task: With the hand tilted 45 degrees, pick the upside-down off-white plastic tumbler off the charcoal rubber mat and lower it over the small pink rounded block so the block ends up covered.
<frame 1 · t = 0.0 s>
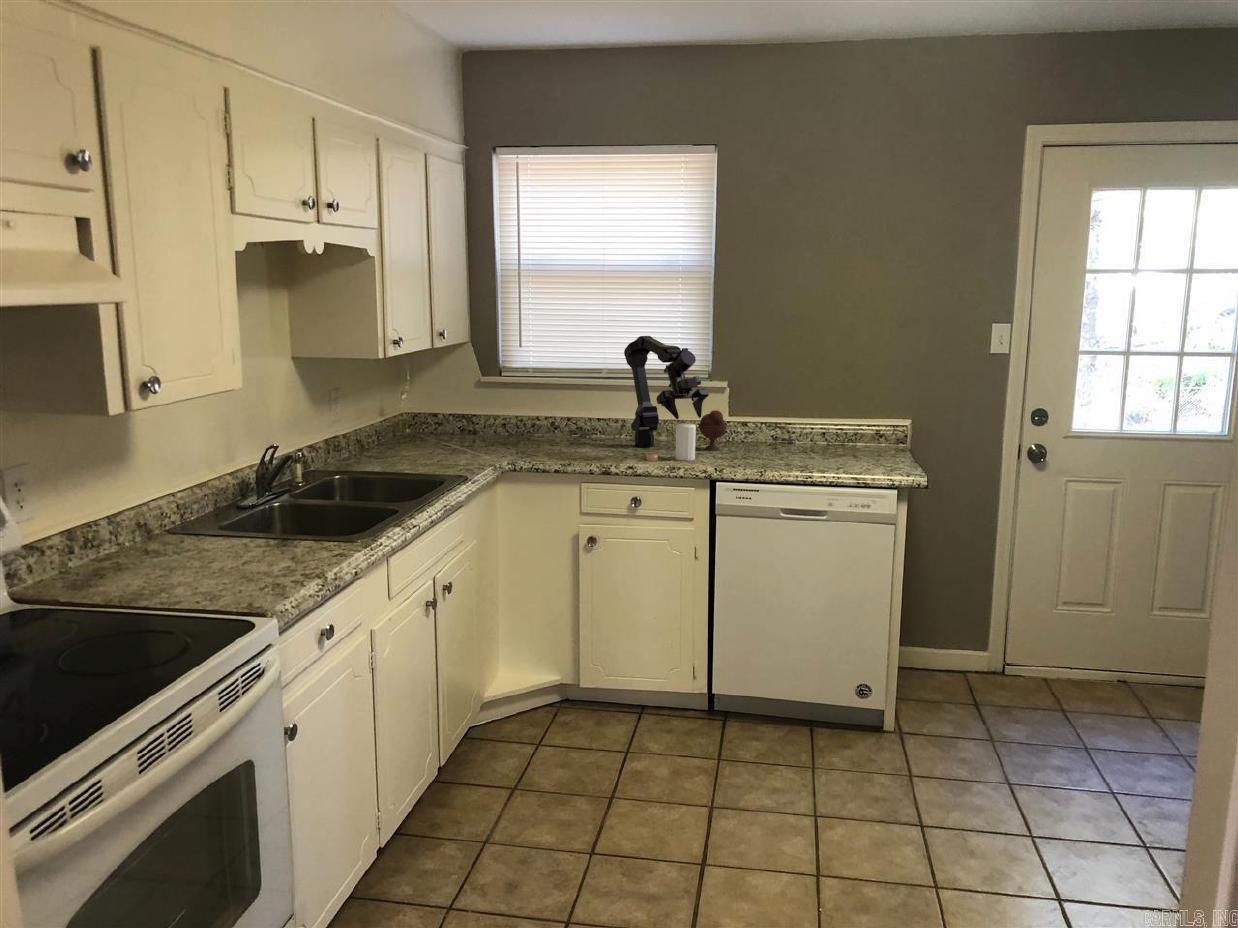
hand: (689, 418, 328), 15 cm above the worktop, tool tilted 35°, fingers open, 9 cm apart
ice cream bowl: (712, 450, 353), on the worktop
tumbler: (685, 458, 331), resting on mat
mat: (682, 459, 332), on the worktop
pink rounded block: (652, 461, 328), on the worktop
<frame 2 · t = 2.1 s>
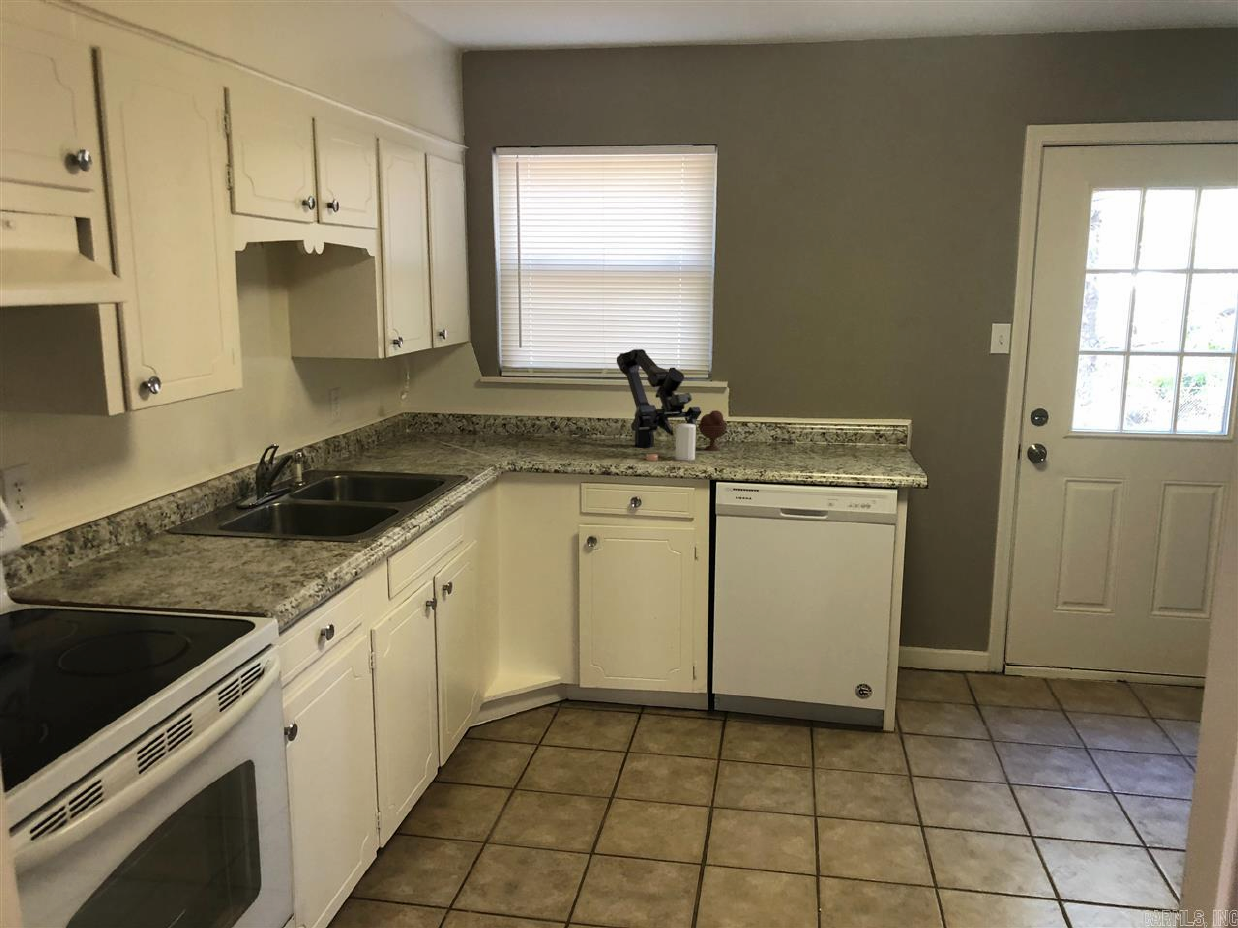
hand: (683, 434, 331), 9 cm above the worktop, tool tilted 45°, fingers open, 9 cm apart
nothing on the worktop moved.
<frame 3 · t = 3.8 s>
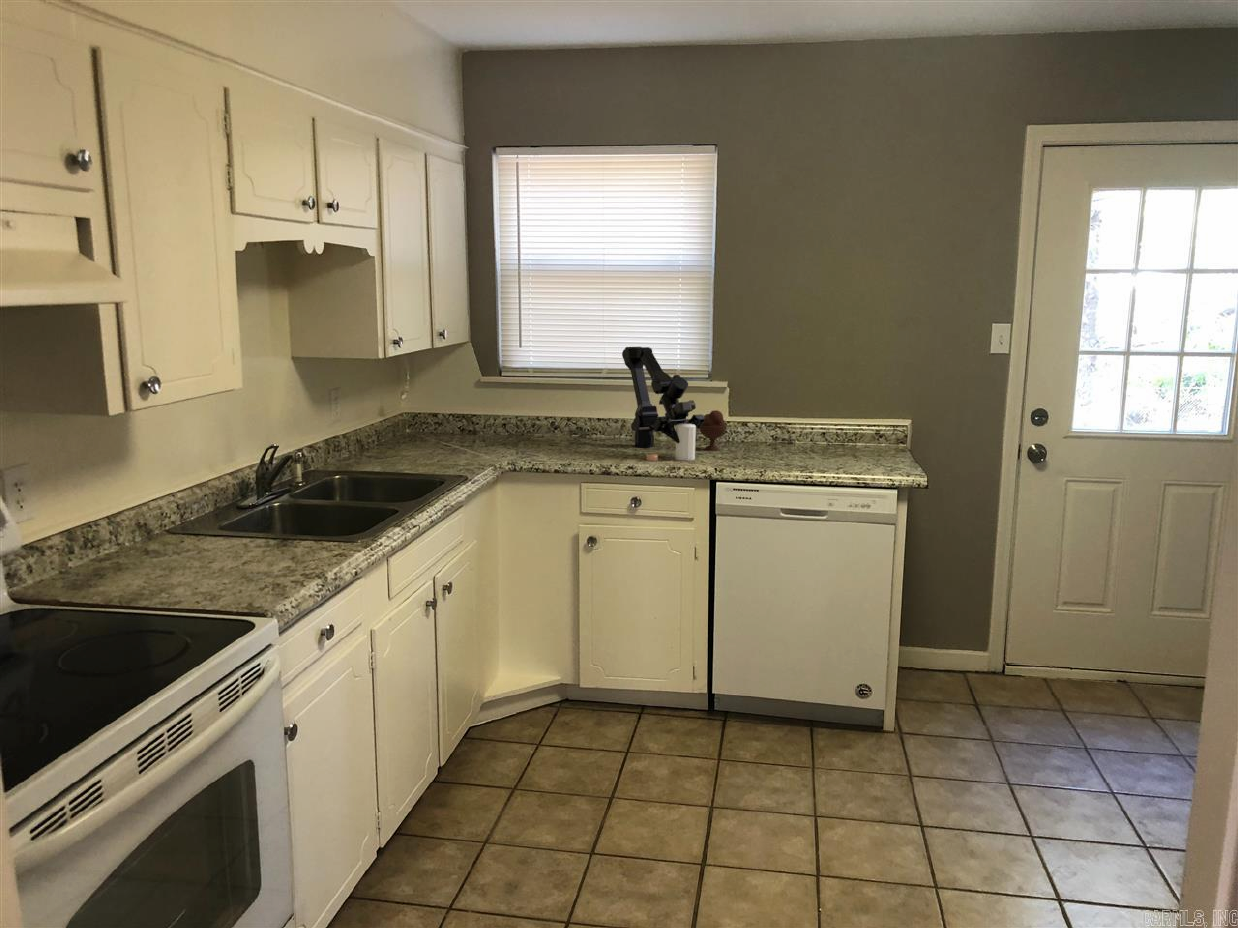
hand: (687, 442, 329), 7 cm above the worktop, tool tilted 45°, fingers closed on tumbler, 7 cm apart
tumbler: (685, 458, 331), resting on mat, touching gripper
everything else where it was.
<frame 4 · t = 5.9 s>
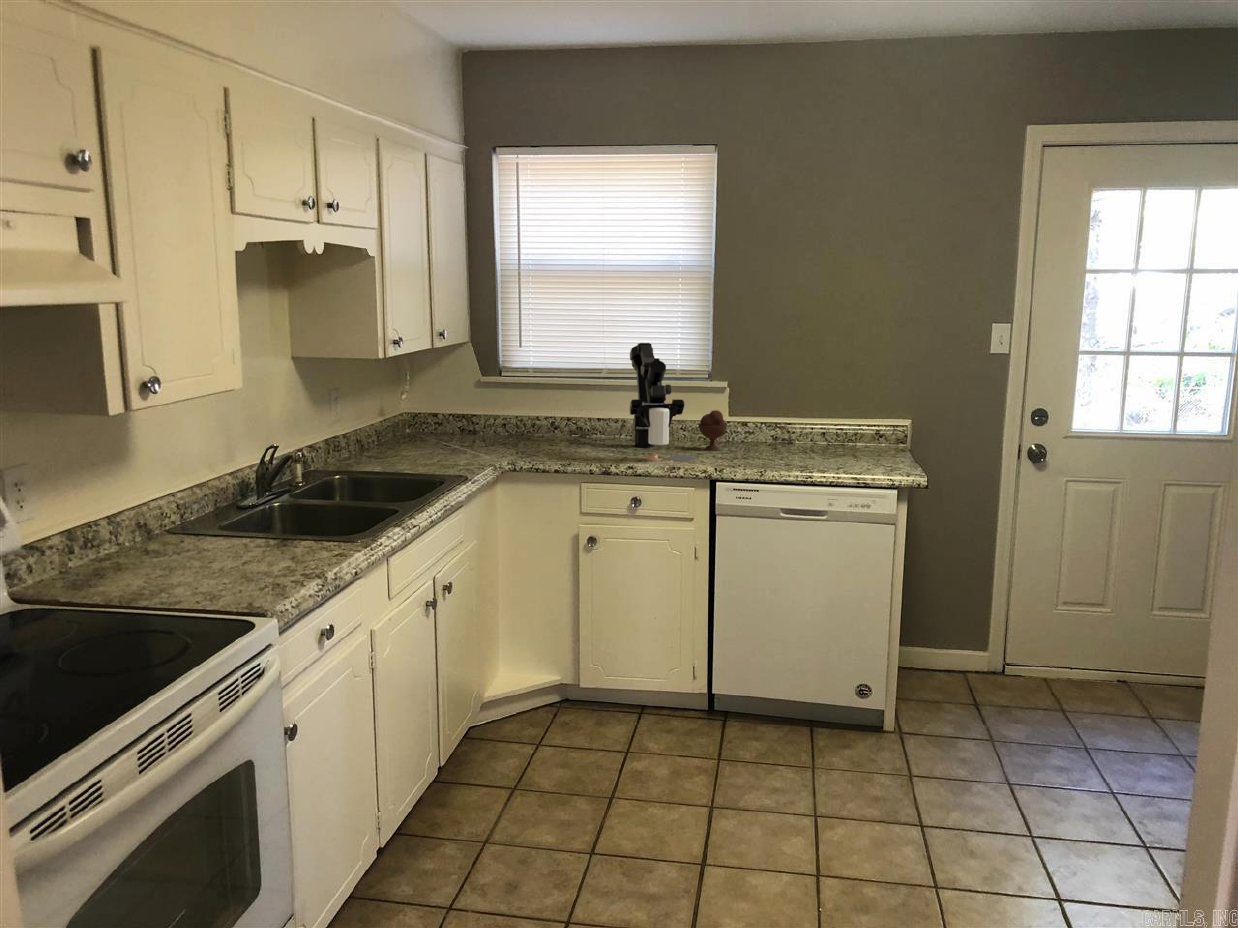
hand: (659, 426, 324), 12 cm above the worktop, tool tilted 45°, fingers closed on tumbler, 7 cm apart
tumbler: (658, 443, 327), point 6 cm above the worktop, touching gripper
everything else where it was.
when the fingers open (8 cm above the worktop, at t = 8.2 s): tumbler drops 1 cm, on the worktop.
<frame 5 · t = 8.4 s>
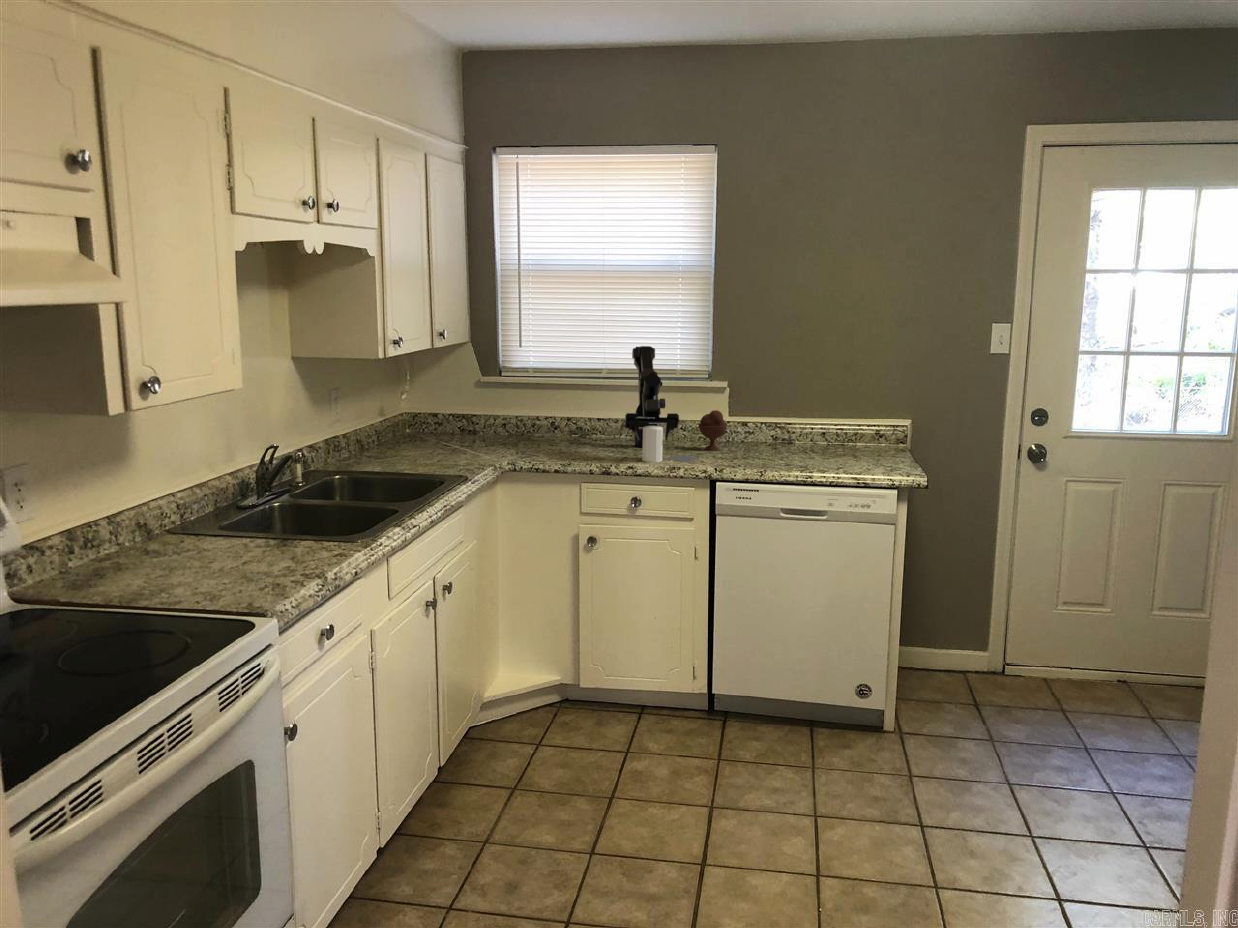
hand: (653, 440, 325), 8 cm above the worktop, tool tilted 45°, fingers open, 9 cm apart
tumbler: (652, 461, 328), on the worktop
everything else where it was.
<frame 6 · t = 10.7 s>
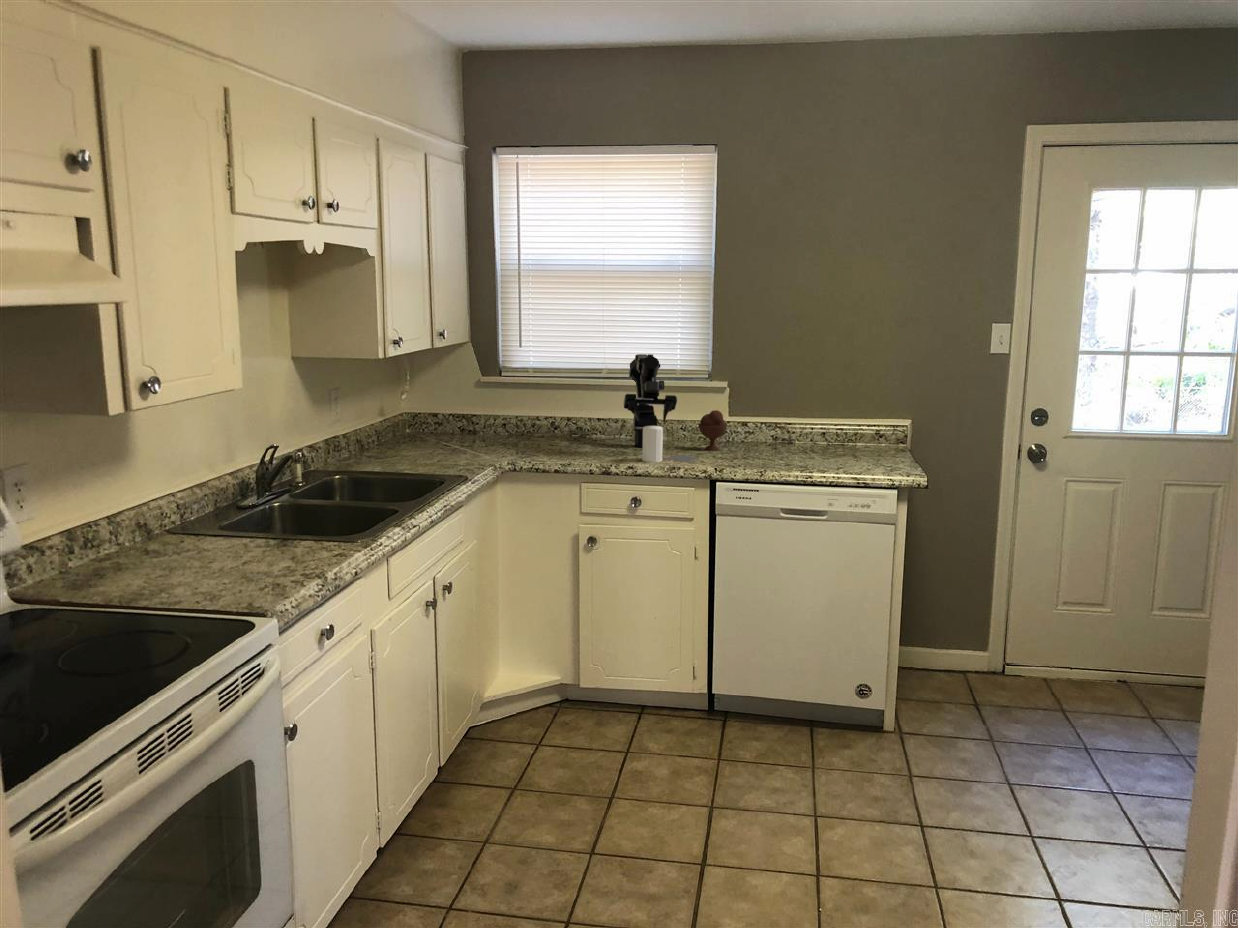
hand: (651, 421, 333), 13 cm above the worktop, tool tilted 45°, fingers open, 9 cm apart
nothing on the worktop moved.
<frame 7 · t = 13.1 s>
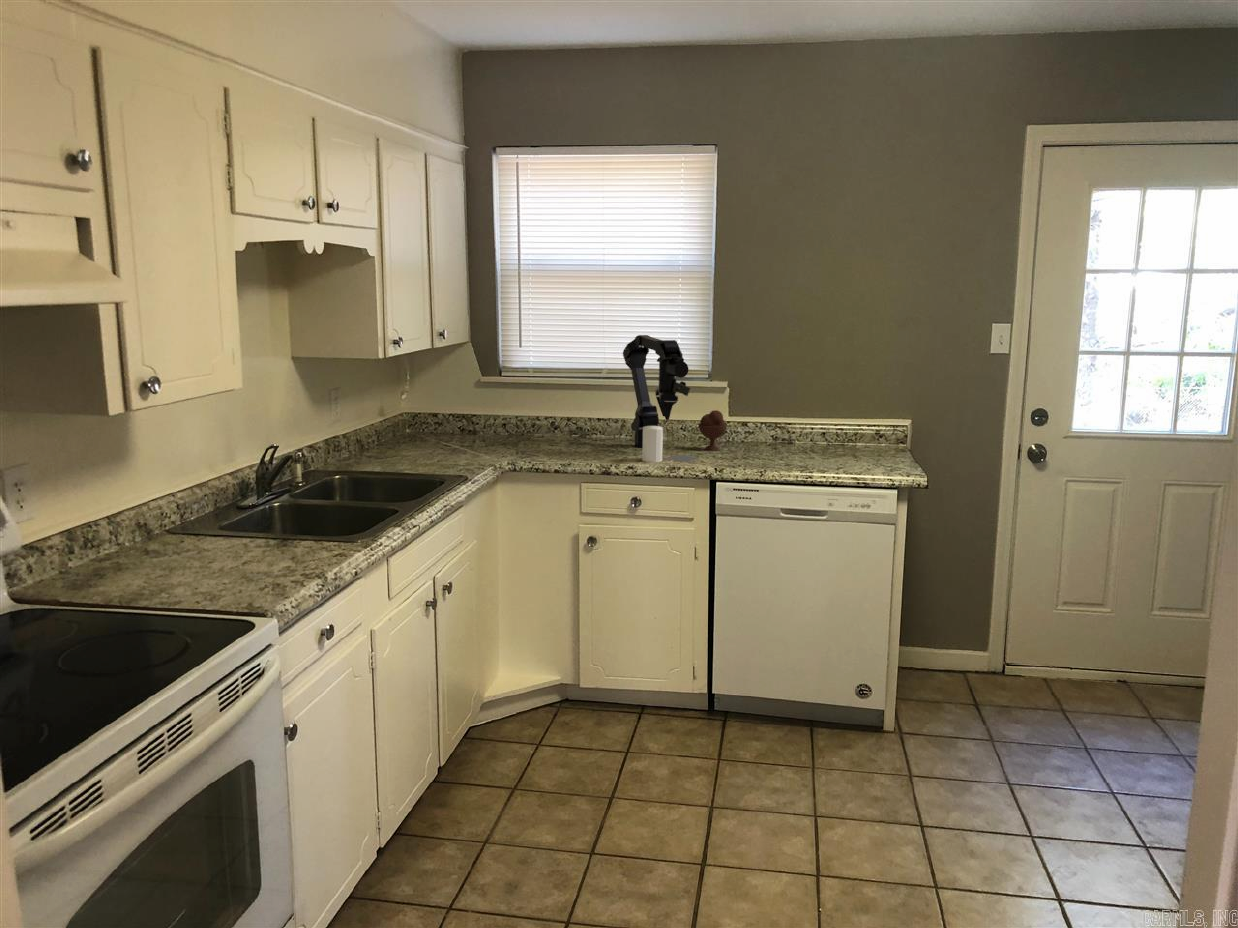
hand: (665, 418, 341), 13 cm above the worktop, tool pointing down, fingers open, 9 cm apart
nothing on the worktop moved.
at the end: tumbler 0.0 cm from the pink rounded block (horizontally); tumbler on the worktop; tumbler tilted 0° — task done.
